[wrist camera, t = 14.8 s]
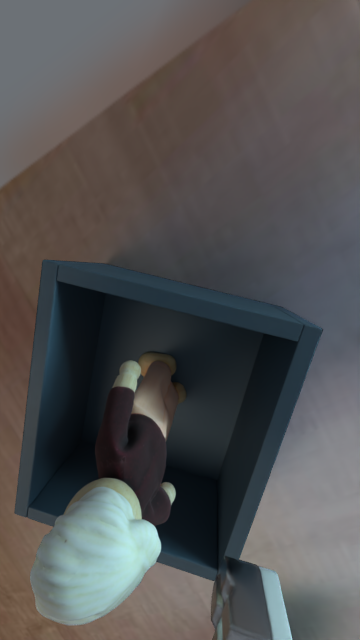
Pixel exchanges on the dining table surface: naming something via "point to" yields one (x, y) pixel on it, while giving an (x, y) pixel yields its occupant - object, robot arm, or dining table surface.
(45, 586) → the grandmother figurine
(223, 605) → the robot arm
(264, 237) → the dining table surface
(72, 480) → the bin
